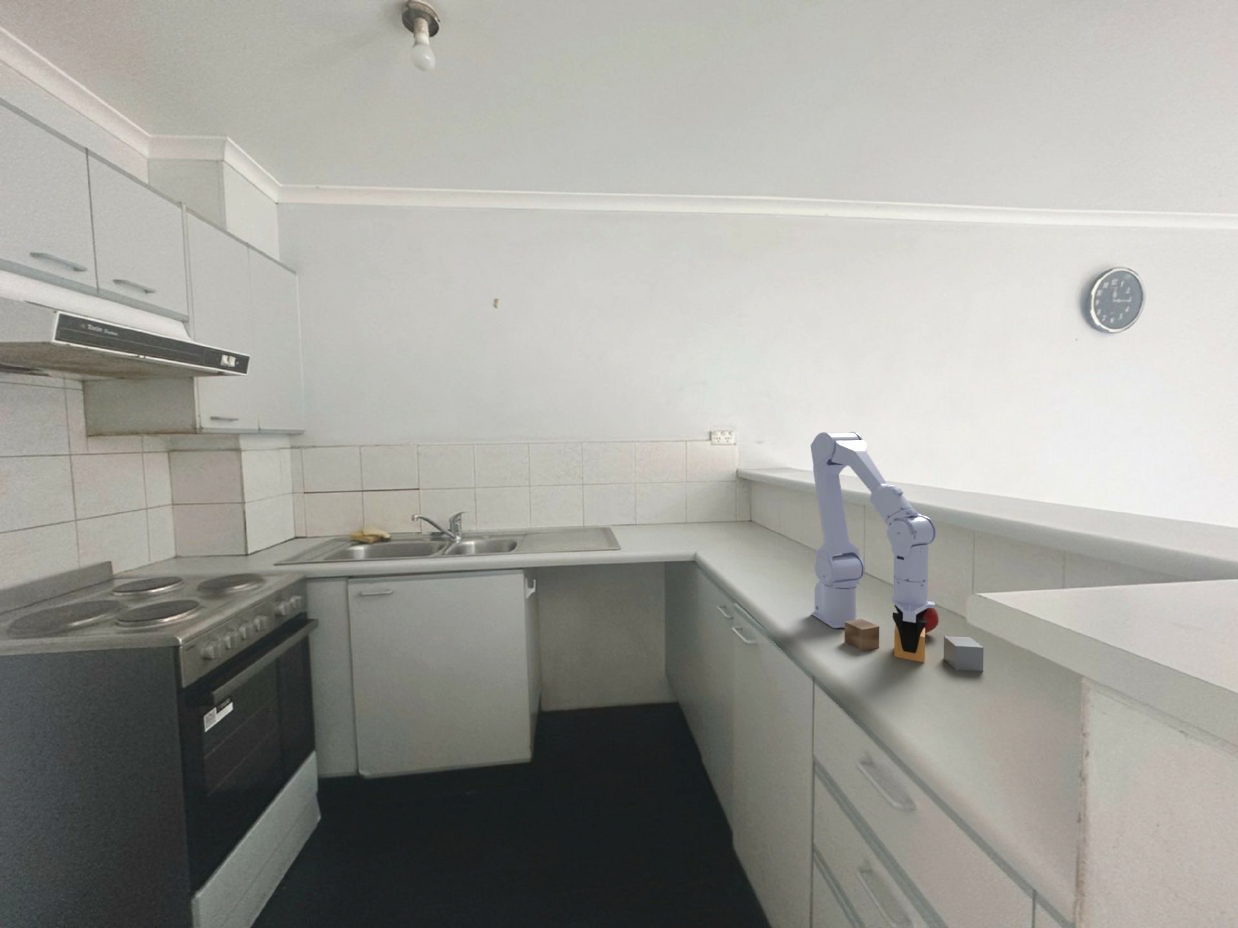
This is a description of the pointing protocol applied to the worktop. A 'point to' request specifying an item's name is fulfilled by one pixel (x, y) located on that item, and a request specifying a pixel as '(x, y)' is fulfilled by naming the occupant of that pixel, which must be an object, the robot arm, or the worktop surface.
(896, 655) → the orange block
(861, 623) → the walnut block
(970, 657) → the slate block
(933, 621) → the onion
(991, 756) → the worktop surface
